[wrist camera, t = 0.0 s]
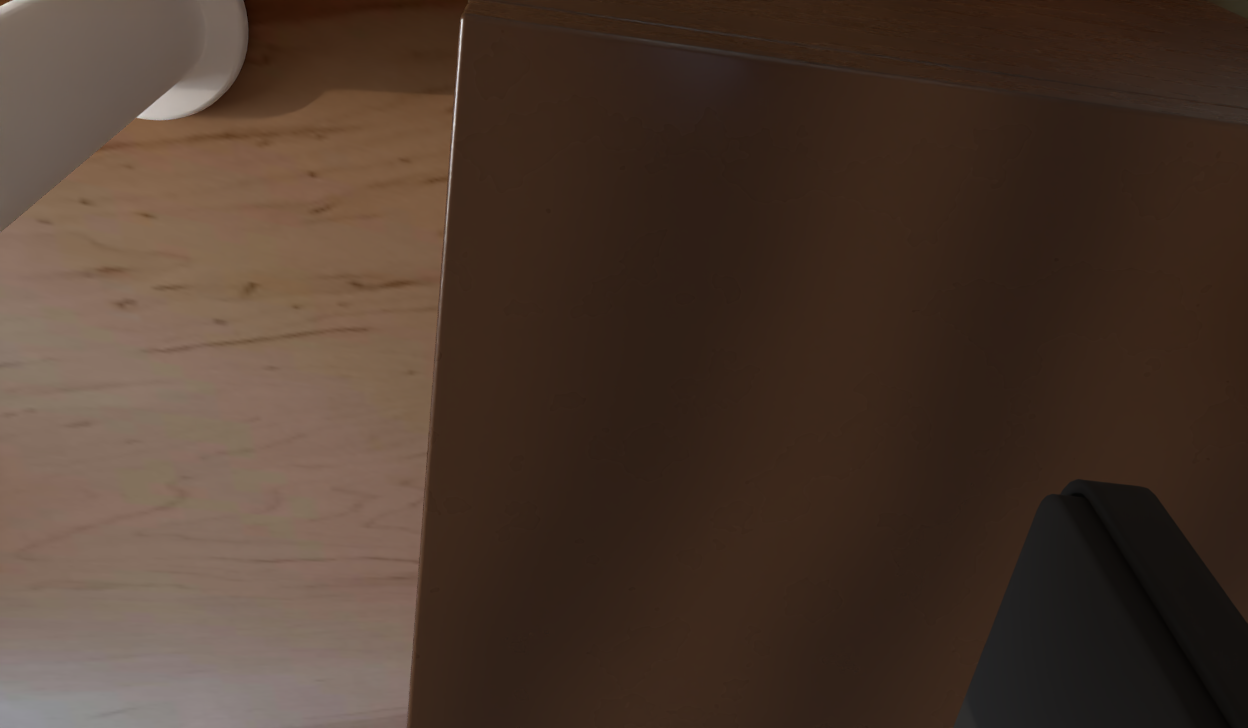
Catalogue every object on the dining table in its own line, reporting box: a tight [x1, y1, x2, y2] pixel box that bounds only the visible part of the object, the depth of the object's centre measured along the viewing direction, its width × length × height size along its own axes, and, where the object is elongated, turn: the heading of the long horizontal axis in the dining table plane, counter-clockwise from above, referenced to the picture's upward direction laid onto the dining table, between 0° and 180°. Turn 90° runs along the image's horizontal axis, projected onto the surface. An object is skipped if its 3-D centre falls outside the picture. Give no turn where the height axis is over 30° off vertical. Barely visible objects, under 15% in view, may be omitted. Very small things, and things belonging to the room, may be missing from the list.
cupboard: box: [407, 0, 1248, 728], centre depth 35 cm, size 18×26×24 cm
